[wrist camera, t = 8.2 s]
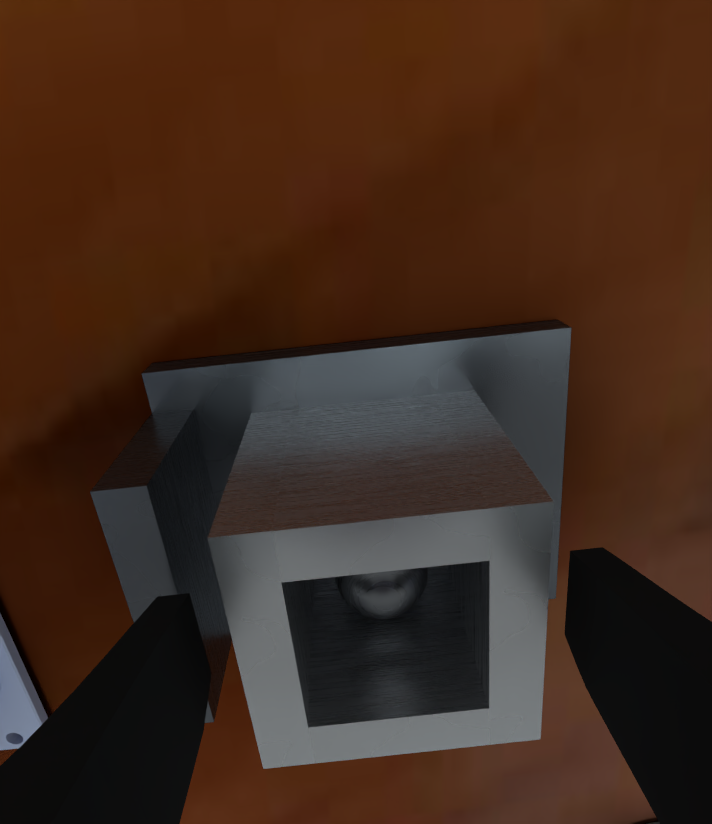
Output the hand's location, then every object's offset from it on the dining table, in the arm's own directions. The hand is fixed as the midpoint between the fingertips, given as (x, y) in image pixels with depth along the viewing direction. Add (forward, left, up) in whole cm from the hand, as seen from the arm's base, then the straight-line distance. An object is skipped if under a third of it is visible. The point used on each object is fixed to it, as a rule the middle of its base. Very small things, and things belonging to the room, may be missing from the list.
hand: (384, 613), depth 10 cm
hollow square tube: (0, 0, -4) cm, 4 cm away
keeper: (0, 0, -5) cm, 5 cm away
